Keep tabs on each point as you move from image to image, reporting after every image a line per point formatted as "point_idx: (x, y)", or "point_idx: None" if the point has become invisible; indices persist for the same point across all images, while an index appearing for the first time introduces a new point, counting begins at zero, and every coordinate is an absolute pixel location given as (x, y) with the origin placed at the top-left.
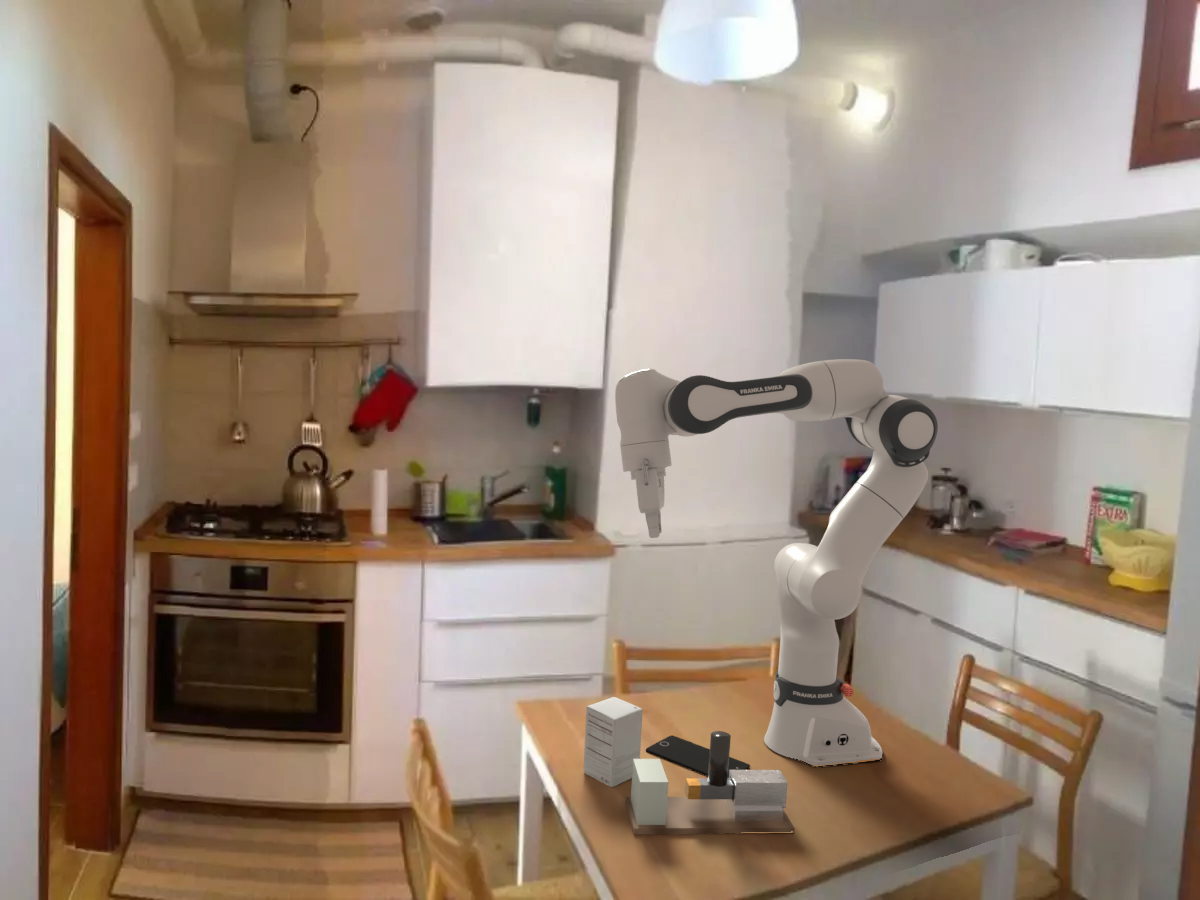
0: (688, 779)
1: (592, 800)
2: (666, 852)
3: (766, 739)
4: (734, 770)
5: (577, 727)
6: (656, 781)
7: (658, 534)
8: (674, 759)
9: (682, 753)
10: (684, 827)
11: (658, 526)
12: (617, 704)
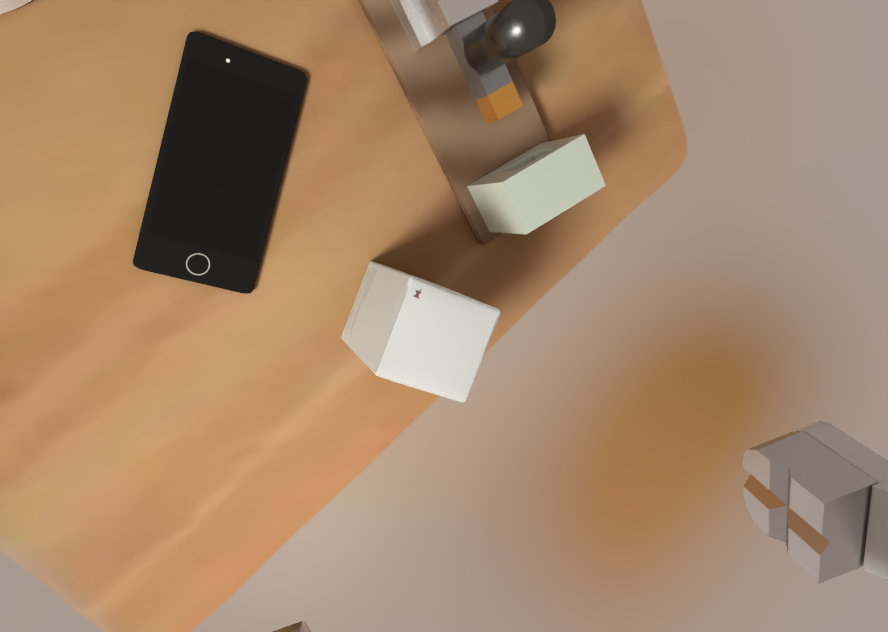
0: (500, 113)
1: (498, 299)
2: (590, 123)
3: (5, 3)
4: (446, 14)
5: (218, 480)
6: (591, 156)
7: (837, 431)
8: (268, 214)
9: (226, 206)
10: (534, 108)
11: (880, 485)
12: (423, 342)
